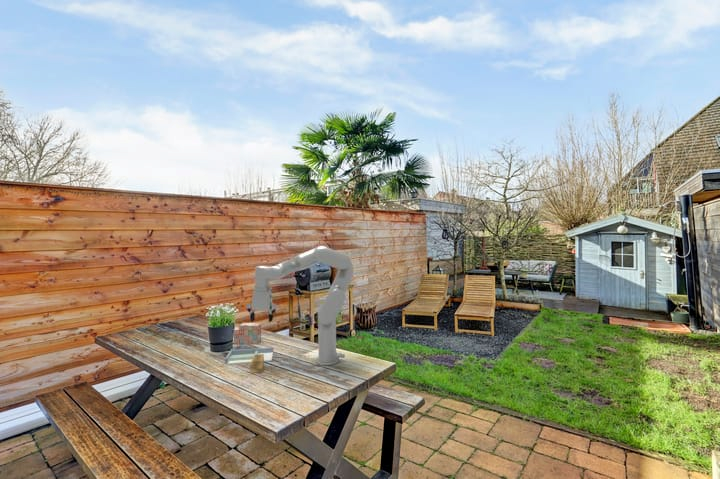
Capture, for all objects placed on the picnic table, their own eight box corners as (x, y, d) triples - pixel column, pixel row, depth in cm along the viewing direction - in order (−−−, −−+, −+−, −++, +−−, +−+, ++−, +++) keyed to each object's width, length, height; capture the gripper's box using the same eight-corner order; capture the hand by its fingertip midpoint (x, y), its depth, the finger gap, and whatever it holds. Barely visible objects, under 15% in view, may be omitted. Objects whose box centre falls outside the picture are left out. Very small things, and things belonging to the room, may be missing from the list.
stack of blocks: (225, 344, 217) (225, 324, 216) (230, 341, 223) (229, 322, 223) (257, 344, 214) (257, 325, 214) (261, 341, 221) (261, 322, 221)
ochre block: (264, 365, 179) (263, 354, 179) (262, 372, 170) (261, 360, 170) (254, 366, 179) (254, 354, 178) (251, 373, 169) (251, 361, 169)
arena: (273, 352, 199) (273, 347, 199) (271, 361, 185) (271, 355, 185) (230, 355, 194) (230, 350, 194) (225, 364, 181) (225, 358, 181)
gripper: (280, 288, 183) (279, 320, 183) (249, 287, 184) (248, 318, 184) (275, 290, 175) (275, 323, 175) (243, 289, 177) (242, 322, 177)
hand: (261, 321), depth 180 cm, fingers open, 9 cm apart
